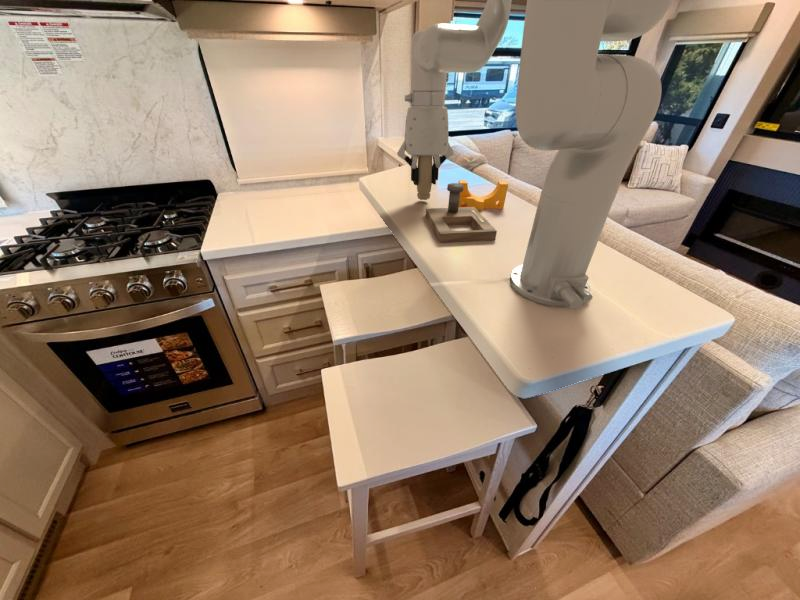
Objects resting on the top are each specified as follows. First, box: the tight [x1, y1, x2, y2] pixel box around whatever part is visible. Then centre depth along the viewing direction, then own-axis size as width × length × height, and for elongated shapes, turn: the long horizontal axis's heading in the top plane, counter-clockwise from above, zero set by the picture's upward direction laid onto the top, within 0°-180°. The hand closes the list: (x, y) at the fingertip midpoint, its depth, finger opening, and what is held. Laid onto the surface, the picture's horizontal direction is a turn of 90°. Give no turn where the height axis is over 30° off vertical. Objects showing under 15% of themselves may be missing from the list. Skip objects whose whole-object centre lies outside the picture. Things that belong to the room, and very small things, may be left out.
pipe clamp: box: [457, 179, 509, 211], centre depth 84 cm, size 12×4×6 cm, turn 87°
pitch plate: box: [425, 182, 498, 244], centre depth 72 cm, size 15×12×8 cm
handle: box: [416, 156, 433, 201], centre depth 82 cm, size 5×6×15 cm
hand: (424, 182), depth 84 cm, fingers closed on handle, 4 cm apart
